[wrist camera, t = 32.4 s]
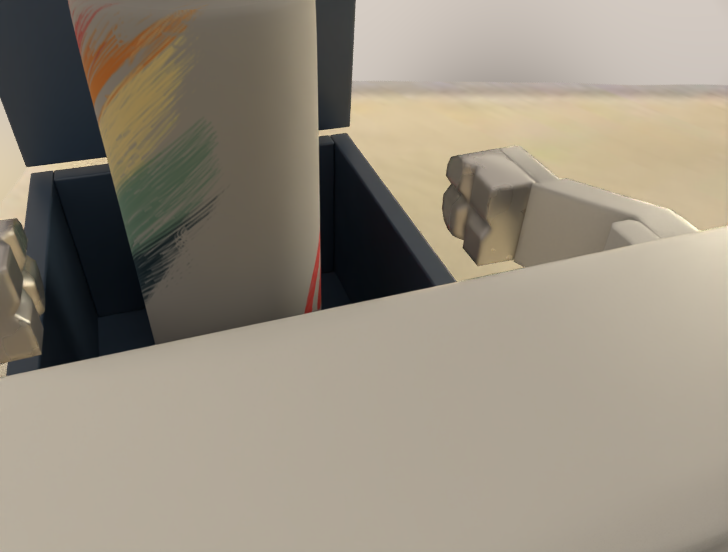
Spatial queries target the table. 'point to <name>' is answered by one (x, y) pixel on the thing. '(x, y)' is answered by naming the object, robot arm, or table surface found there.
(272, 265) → the lotion bottle
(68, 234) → the chest
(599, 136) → the table surface
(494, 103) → the table surface
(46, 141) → the lid
